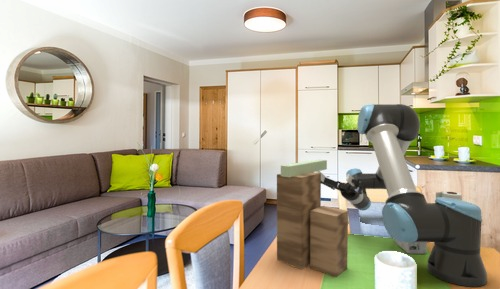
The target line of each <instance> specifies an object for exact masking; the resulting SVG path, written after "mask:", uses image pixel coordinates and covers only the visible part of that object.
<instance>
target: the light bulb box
mask: <svg viewBox="0 0 500 289" xmlns="http://www.w3.org/2000/svg"><path fill="white" fill-rule="evenodd" d="M394 243H395V244H396V245H397V246H399V247H400V248H401V249H403V251H404V252H406V253H407V254H416V255H417V254H419V255H420V254H425V255H426V254H427V242H414V243H409V242H400V241H397V240H395V239H394Z"/></svg>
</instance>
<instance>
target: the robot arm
mask: <svg viewBox="0 0 500 289" xmlns="http://www.w3.org/2000/svg"><path fill="white" fill-rule="evenodd" d="M358 113H359V114H358V116H357V131H358V134H360V135H365V139H366V140H367V141H368V142H370V143H371V144H372V147H373V150H374V154H375V156H376V159H377V163H378V167H377V170H376V172H375V173H363V172H362V169H360V168H356V167H355V168H351V169H349V170H347V171H346V173H345V175H346V176H345V177H346V182H341V181H339V180H334V179H331V178H329V177H327V176H326V175H324V174H323V173H322V171H317V172H315V173H321V185H324V186H326V187H327V188H329V189H331V190H337V191H339V192H340V195H341V196H342V198H344V199H345V200H346V201H348V202H349V203H350V204H351V205H352V206H353V207H354V208H356V209H358V210H359V211H362V212H364V211H366V210H368V209H369V208H370V207H371V205H372V203H371V202H372V200H371V199H370V197H369V196H368V192H367V190H386V193H387V196H388V197H387V198H386V199H385V204H384V205H383V207H382V210H381V215H382V217H381V219H382V222H383V226H384V229H385V230H386V232H387V233H388V235H389V237H391V238H392V239H393V240H394V241H395V240H397V241H400V242H409V243H414V242H426V243H433V248H432V250H431V252H430V254H429V255H428V259H427V262H426V263H427V264H426V269H427V271H428V272H429V273H430V274H431V275H433V276H434V277H436V278H438V279H439V280H442V281H445V282H447V283H450V284H453V285H458V286H461V287H463V286H464V287H469V288H470V287H471V288H472V287H475V288H476V287H477V288H478V287H482V286H485V285H486V284H487V283H488V274H487V270H486V266H485V265H484V262H483V259H482V256H481V255H482V254H481V245H482V243H481V242H482V241H481V239H482V238H481V237H482V222H483V219H482V217H483V216H482V209H481V208H480V207H479V206H478V205H477V204H475V203H472V202H469V201H466V200H463V199H462V200H457V199H452V198H445V197H437V198H436V197H435V200H434V203H432V202H429V203H428V201H427V200H426V198H425V195H424V193H423V192H420V191H417V188H416V186H415V183H414V182H415V181H413V177H412V175H411V172H410V169H409V167H408V163H407V161H406V159H405V154H406V152H407V150H408V148H409V146H410V145H411V143H412V142H413V141H415V140H416V138H417V137H418V135H419V132H420V129H421V122H420V118H419V115H418V114H417V112H416V111H415V109H413V107H410V106H409V105H406V104H403V103H402V104H398V103H397V104H392V103H391V104H379V103H378V104H374V103H372V104H365V105H363V106H362V107H361V108H360V111H359V112H358Z"/></svg>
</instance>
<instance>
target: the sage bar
mask: <svg viewBox="0 0 500 289" xmlns="http://www.w3.org/2000/svg"><path fill="white" fill-rule="evenodd" d="M327 164H328V160H326V159H314V160H313V159H312V160H307V161H301V162H296V163H290V164H283V165H280V174H281V176H283V177H293V176H298V175H303V174H307V173H312V172H314V173H316V172H317V171H320V172H322V171H325V170H327V169H328V168H327V167H328V165H327Z"/></svg>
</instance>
